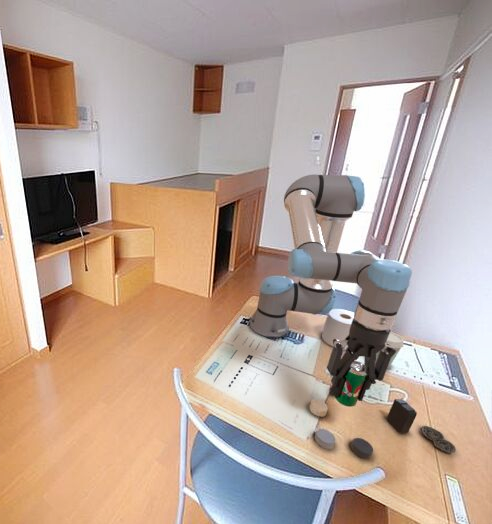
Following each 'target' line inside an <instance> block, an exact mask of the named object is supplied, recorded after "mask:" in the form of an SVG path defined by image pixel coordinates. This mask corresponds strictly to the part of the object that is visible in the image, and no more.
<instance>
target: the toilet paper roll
mask: <svg viewBox="0 0 492 524" xmlns="http://www.w3.org/2000/svg"><path fill="white" fill-rule="evenodd" d="M354 314H355V312H354V311H350V310H347V309H342V308H332V309H331V311H330V312H329V313H327V314H326V319H325V322H324V325H323V330H322V333H321V334H322V335H321V339H322V341H324V342H325V343H326V344H327V345H329V346H331V347H332V348H333V347H334V346H333V340H334V339H337V340H338V341H341V340H345V339H346V337H347V336H348V335H349V330H350V326H351V323H352V320H353V318H354ZM347 347H348V345H346V346H345V348H344V349H345V350H344V351H346V349H347Z"/></svg>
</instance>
